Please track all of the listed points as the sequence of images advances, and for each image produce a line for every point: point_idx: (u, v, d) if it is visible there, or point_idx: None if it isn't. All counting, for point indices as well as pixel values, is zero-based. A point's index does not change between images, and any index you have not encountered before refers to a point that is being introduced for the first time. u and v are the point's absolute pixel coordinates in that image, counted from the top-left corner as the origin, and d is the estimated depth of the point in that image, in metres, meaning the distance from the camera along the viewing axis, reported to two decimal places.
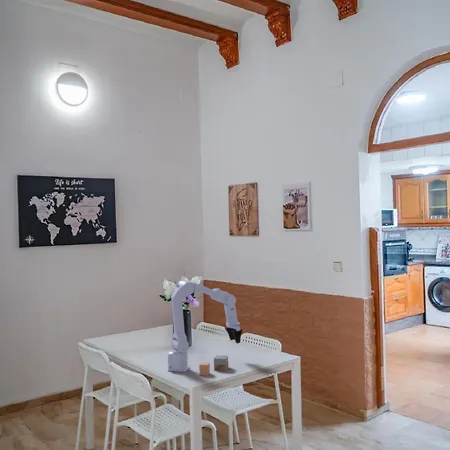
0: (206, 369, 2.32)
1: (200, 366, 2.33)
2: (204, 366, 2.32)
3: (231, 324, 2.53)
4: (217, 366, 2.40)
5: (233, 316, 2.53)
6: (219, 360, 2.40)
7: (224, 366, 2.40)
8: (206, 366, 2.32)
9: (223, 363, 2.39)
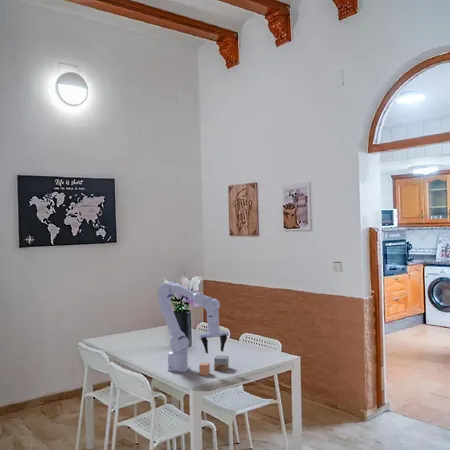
0: (206, 369, 2.32)
1: (200, 366, 2.33)
2: (204, 366, 2.32)
3: None
4: (217, 366, 2.40)
5: (210, 324, 2.34)
6: (220, 360, 2.40)
7: (224, 366, 2.39)
8: (206, 366, 2.32)
9: (224, 363, 2.39)
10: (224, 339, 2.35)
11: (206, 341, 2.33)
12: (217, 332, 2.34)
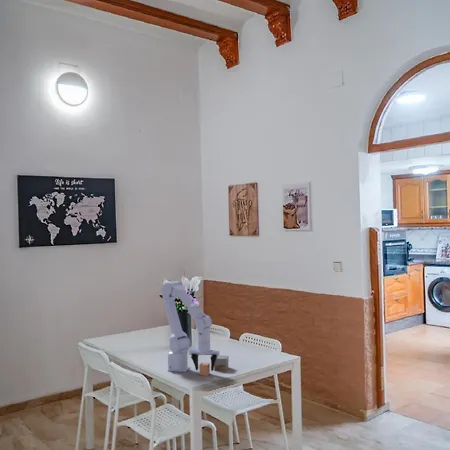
0: (206, 369, 2.32)
1: (200, 366, 2.33)
2: (204, 366, 2.32)
3: None
4: (217, 366, 2.40)
5: (200, 342, 2.32)
6: (220, 360, 2.40)
7: (224, 366, 2.39)
8: (206, 366, 2.32)
9: (224, 363, 2.40)
10: (212, 358, 2.31)
11: (194, 358, 2.33)
12: (205, 350, 2.32)
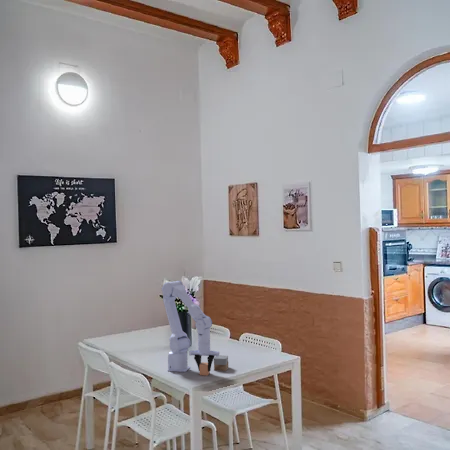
0: (206, 369, 2.32)
1: (200, 366, 2.33)
2: (204, 366, 2.32)
3: None
4: (217, 366, 2.40)
5: (200, 342, 2.32)
6: (219, 360, 2.40)
7: (224, 366, 2.40)
8: (206, 366, 2.32)
9: (223, 363, 2.40)
10: (209, 359, 2.31)
11: (197, 359, 2.32)
12: (205, 351, 2.32)
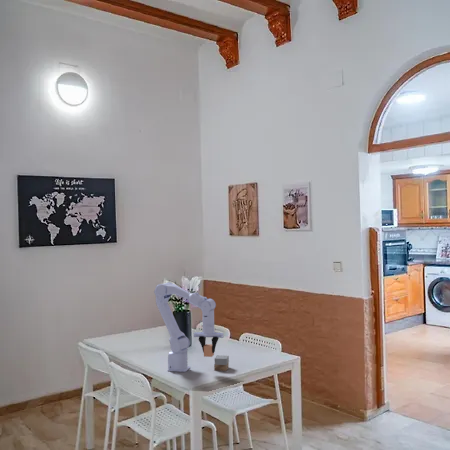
0: (210, 350, 2.34)
1: (204, 347, 2.35)
2: (208, 347, 2.34)
3: None
4: (217, 366, 2.40)
5: (205, 324, 2.34)
6: (220, 360, 2.40)
7: (224, 366, 2.40)
8: (210, 347, 2.34)
9: (224, 363, 2.40)
10: (213, 340, 2.33)
11: (201, 340, 2.35)
12: (209, 333, 2.34)
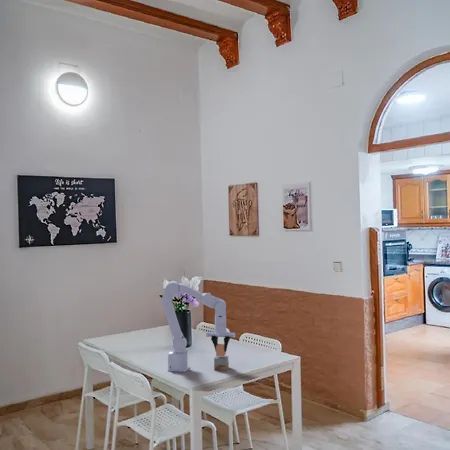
0: (222, 350, 2.40)
1: (217, 347, 2.41)
2: (220, 347, 2.41)
3: None
4: (217, 366, 2.40)
5: (220, 324, 2.40)
6: (219, 360, 2.40)
7: (224, 366, 2.39)
8: (222, 347, 2.40)
9: (224, 363, 2.39)
10: (225, 340, 2.40)
11: (214, 340, 2.41)
12: (222, 332, 2.40)
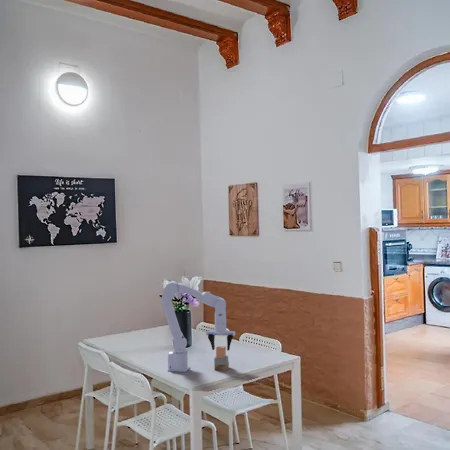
0: (222, 352, 2.40)
1: (217, 349, 2.41)
2: (221, 349, 2.41)
3: None
4: (217, 366, 2.40)
5: (220, 322, 2.40)
6: (220, 360, 2.40)
7: (224, 366, 2.40)
8: (223, 349, 2.40)
9: (224, 363, 2.40)
10: (228, 338, 2.39)
11: (211, 338, 2.41)
12: (222, 331, 2.40)
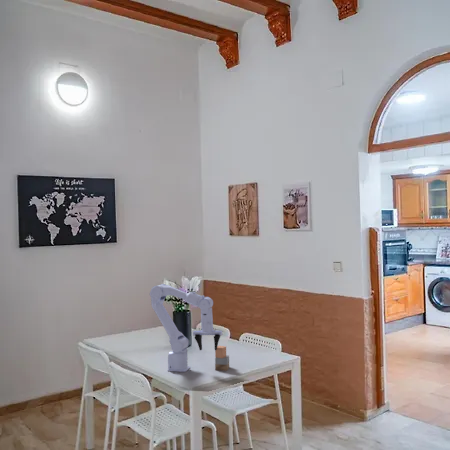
0: (221, 352, 2.41)
1: None
2: (219, 349, 2.41)
3: None
4: (218, 366, 2.41)
5: (205, 322, 2.37)
6: (220, 360, 2.40)
7: (225, 366, 2.40)
8: (221, 349, 2.41)
9: (225, 363, 2.40)
10: (215, 338, 2.36)
11: (198, 338, 2.38)
12: (208, 330, 2.36)
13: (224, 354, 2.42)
